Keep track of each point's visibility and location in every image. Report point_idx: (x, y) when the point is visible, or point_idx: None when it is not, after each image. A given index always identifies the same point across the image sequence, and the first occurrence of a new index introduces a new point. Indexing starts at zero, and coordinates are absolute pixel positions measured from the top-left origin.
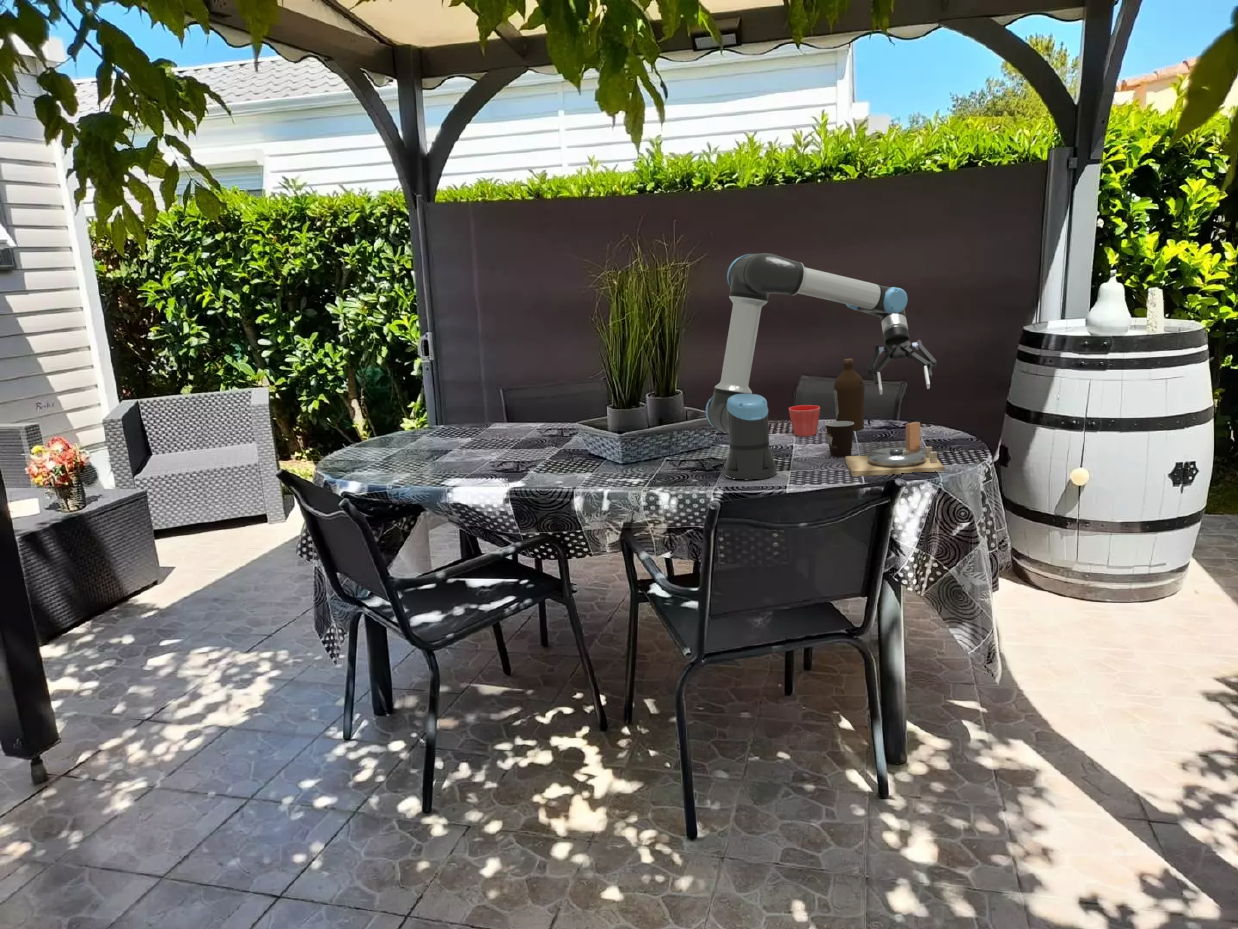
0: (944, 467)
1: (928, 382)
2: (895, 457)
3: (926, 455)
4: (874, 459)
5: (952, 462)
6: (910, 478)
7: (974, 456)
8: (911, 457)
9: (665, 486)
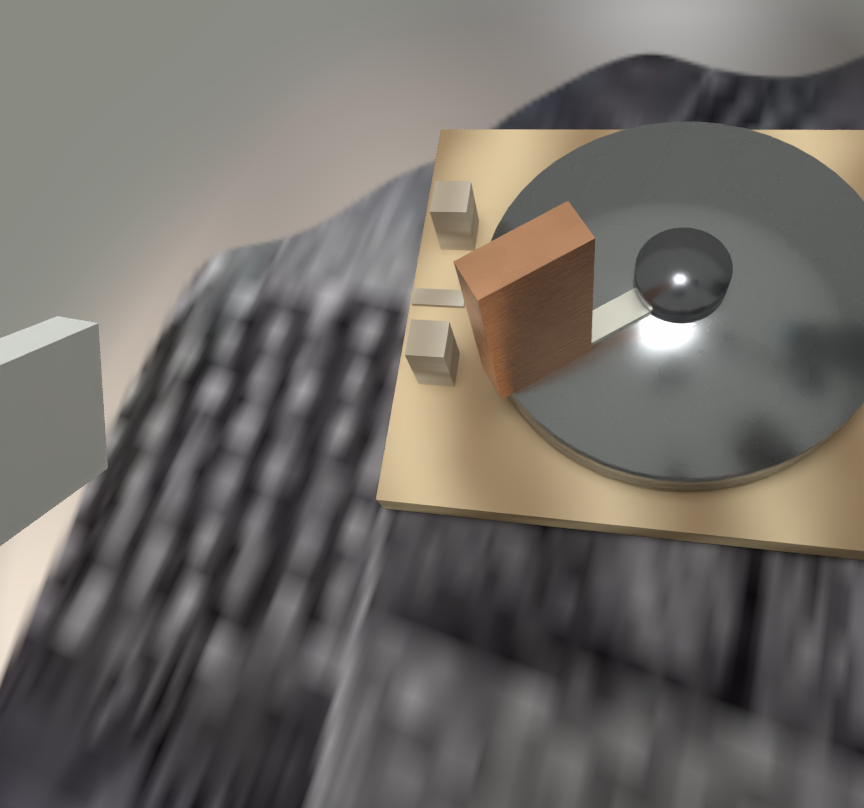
0: (442, 131)
1: (60, 325)
2: (707, 183)
3: (456, 351)
4: (855, 201)
5: (321, 343)
6: (650, 71)
7: (145, 453)
8: (605, 163)
9: None
